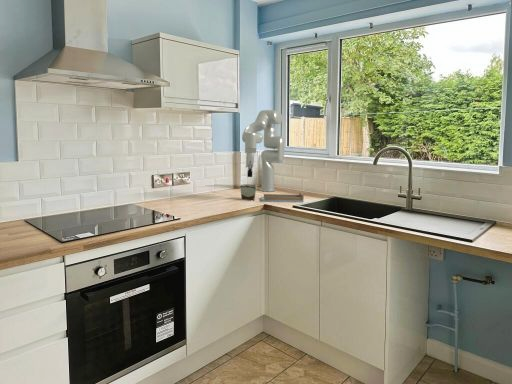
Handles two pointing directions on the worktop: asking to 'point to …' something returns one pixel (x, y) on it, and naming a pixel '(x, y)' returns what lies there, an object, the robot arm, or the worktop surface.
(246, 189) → the food container
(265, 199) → the keyway board
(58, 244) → the worktop surface
